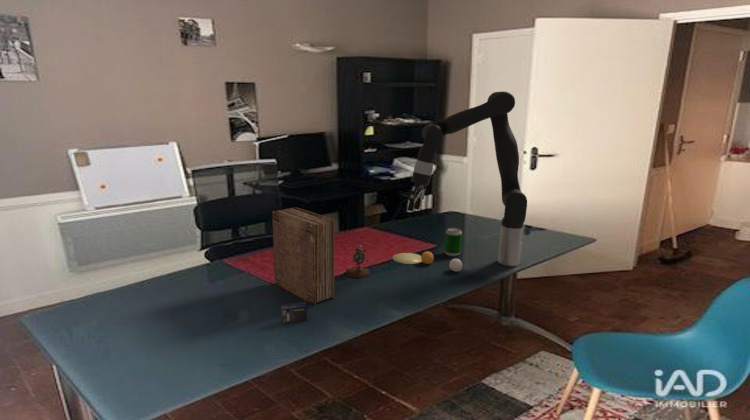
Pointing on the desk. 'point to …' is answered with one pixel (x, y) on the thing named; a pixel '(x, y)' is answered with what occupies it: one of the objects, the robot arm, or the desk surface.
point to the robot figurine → (359, 259)
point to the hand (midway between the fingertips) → (413, 210)
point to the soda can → (453, 241)
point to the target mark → (407, 258)
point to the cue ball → (455, 265)
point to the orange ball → (427, 257)
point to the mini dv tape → (294, 312)
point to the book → (304, 253)
